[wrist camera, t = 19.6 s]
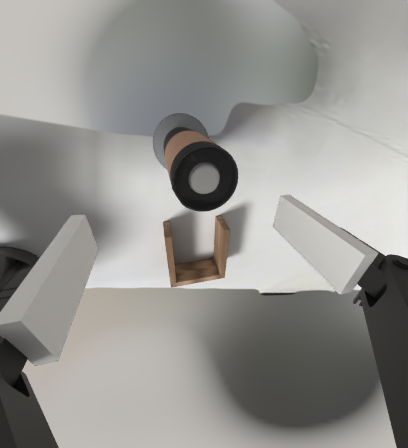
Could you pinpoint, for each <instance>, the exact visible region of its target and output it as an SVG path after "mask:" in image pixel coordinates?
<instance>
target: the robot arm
mask: <svg viewBox="0 0 408 448" xmlns="http://www.w3.org/2000/svg"><path fill="white" fill-rule="evenodd" d="M272 227H273V228H274V229H275V230H276V231H277V232H278V233H279V234H280V235H281V236H282V237H283V238H284V239H285V240H286V241H287V242H288V243H289V244H290V245H291V246H292V247H293V248H294V249H295V250H296V251H297V252H298V253H299V254H300V255H301V256H302V257H303V258H304V259H305V260H306V261H307V262H308V263H309V264H310V265H311V266H312V267H313V268H314V269H315V270H316V271H317V272H318V273H319V274H320V275H321V276H322V277H323V278H324V279H325V280H326V281H327V282H328V283H329V284H330V285H331V286H332V287H333V288H334V289H335V290H336V291H337V292H338V293H339V294H344V293H349V292H352V291H353V289H354V288H355V286H356V285H357V284H358V285H359V286H360V287H361V288H362V289H361V290H360V291H359V293H358V294H357V296H356V297H355V298H354V300H353V303H354V304H355V303H356V302H357V301H358V300H361V303H360V304H359V305H360V306H363V311H364V314H365V319H366V323H367V327H368V331H369V335H370V339H371V343H372V347H373V352H374V356H375V360H376V364H377V368H378V372H379V376H380V380H381V384H382V389H383V392H384V397H385V401H386V405H387V409H388V413H389V418H390V421H391V426H392V429H393V434H394V438H395V442H396V446H397V448H408V259H407V258H404V257H401V256H398V255H387V256H385V255H383V254H382V253H380V252H378V251H377V250H375V249H374V248H372V247H371V246H369V245H368V244H366V243H365V242H363V241H361V240H358V238H357V237H355V236H354V235H352V234H351V233H349V232H348V231H346V230H344V229H342V228H340V227H338V226H337V225H335V224H334V223H332V222H330V221H329V220H327V219H326V218H324V217H323V216H321V215H320V214H318V213H317V212H315V211H314V210H312V209H311V208H309V207H308V206H306V205H304V204H303V203H301V202H300V201H298V200H297V199H295V198H294V197H292V196H291V195H281V196H280V199H279V203H278V207H277V211H276V215H275V219H274V223H273V226H272ZM98 250H99V249H98V246H97V243H96V241H95V238H94V236H93V233H92V230H91V228H90V225H89V223H88V220H87V218H86V215H85V214H81V215H71V216H70V217H69V219H68V220H67V221H66V223H65V224H64V225H63V227H62V228H61V230H60V231H59V232H58V234H57V235H56V236H55V238H54V239H53V241H52V242H51V243H50V245H49V246H48V247H47V249H46V250H45V252H44V253H43V254H42V256H41V257H40V258H38V257H37V256H35V255H33V254H31V253H28V252H26V251H22V250H19V249H14V248H6V247H0V448H58V445H57V443H56V441H55V438H54V436H53V434H52V432H51V430H50V428H49V425H48V423H47V421H46V418H45V416H44V414H43V412H42V410H41V407H40V405H39V403H38V401H37V398H36V396H35V394H34V392H33V390H32V387H31V385H30V383H29V381H28V378H27V376H26V374H25V373H24V372H22V369H23V367H24V365H25V363H26V361H27V359H28V360H29V361H30V362H31V363H32V364H34V365H35V366H38V365H42V364H46V363H50V362H55V361H58V360H59V357H60V355H61V352H62V349H63V346H64V344H65V341H66V338H67V335H68V333H69V330H70V327H71V325H72V322H73V319H74V316H75V314H76V311H77V308H78V305H79V303H80V300H81V297H82V294H83V292H84V289H85V286H86V283H87V281H88V278H89V275H90V272H91V270H92V267H93V264H94V261H95V259H96V256H97V253H98Z"/></svg>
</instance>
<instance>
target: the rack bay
mask: <svg viewBox="0 0 408 448" xmlns="http://www.w3.org/2000/svg"><path fill="white" fill-rule="evenodd" d="M163 226H164V237H165V245H166V252H167V260H168V268H169V276H170V283H171V287H176V286H182V285H187V284H193V283H198V282H204V281H209V280H215V279H220V278H225V270H226V260H227V251H228V242H229V233H230V229H229V227H228V226H227V224H226V223H225V221H224V219H223V218H222V216H216V221H215V239H214V257H213V259H209V260H203V261H197V262H190V263H184V264H178V265H174V256H173V246H172V236H171V230H170V223H169V222H163Z"/></svg>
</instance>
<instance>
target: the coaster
mask: <svg viewBox="0 0 408 448" xmlns="http://www.w3.org/2000/svg"><path fill="white" fill-rule="evenodd" d="M177 127H185V128H188V129H191V130H193V131H196V132H198V133H200V134H201V135H203V136H204V137H206V138H207V139H209V138H208V134H207V132H206V129H205V128H204V126H203V125H202V124H201V122H200V121H199V120H197V119H196V118H194V117H193V116H190V115H188V114H182V113H177V114H172V115H170V116H168V117H166V118H165V119H163V120H162V121H161V122H160V123H159V125H158V126H157V128H156V130H155V133H154V138H153V147H154V152H155V155H156V157H157V159H158V161H159V162H160V163H161V164H162V165H163V166H164V167H165V168H166V169H167V166H166V163H165V157H164V148H163V144H164V140H165V137H166V135H167V134H168V133H169V132H170V131H171V130H172V129H174V128H177Z"/></svg>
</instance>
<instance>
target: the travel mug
mask: <svg viewBox="0 0 408 448" xmlns="http://www.w3.org/2000/svg"><path fill="white" fill-rule="evenodd" d="M163 148H164V157H165V163H166V166H167V170H168V173H169V177H170V181H171V184H172V189H173V191H174V193H175V195H176V196H177V198H178V199H179V200H180V202H181V203H182V205H184V206H185V207H187V208H189V209H191V210H195V211H210V210H214V209H216V208H218V207H220V206H222V205H223V204H224V203H226V202H227V201H228V200H229V199H230V197H231V196H232V195H233V193H234V191H235V189H236V186H237V182H238V169H237V165H236V163H235V161H234V159H233V157H232V156H231V155H230V154H229V153H228V152H227V151H226V150H224V149H223V148H221V147H220V146H218V145H217V144H215V143H214V142H212V141H211V140H209V139H207V138H206V137H204V136H203V135H201V134H200V133H198V132H196V131H193V130H191V129H188V128H185V127H177V128H174V129H172V130H171V131H170V132H169V133H168V134H167V135H166V137H165V140H164V144H163Z"/></svg>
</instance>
